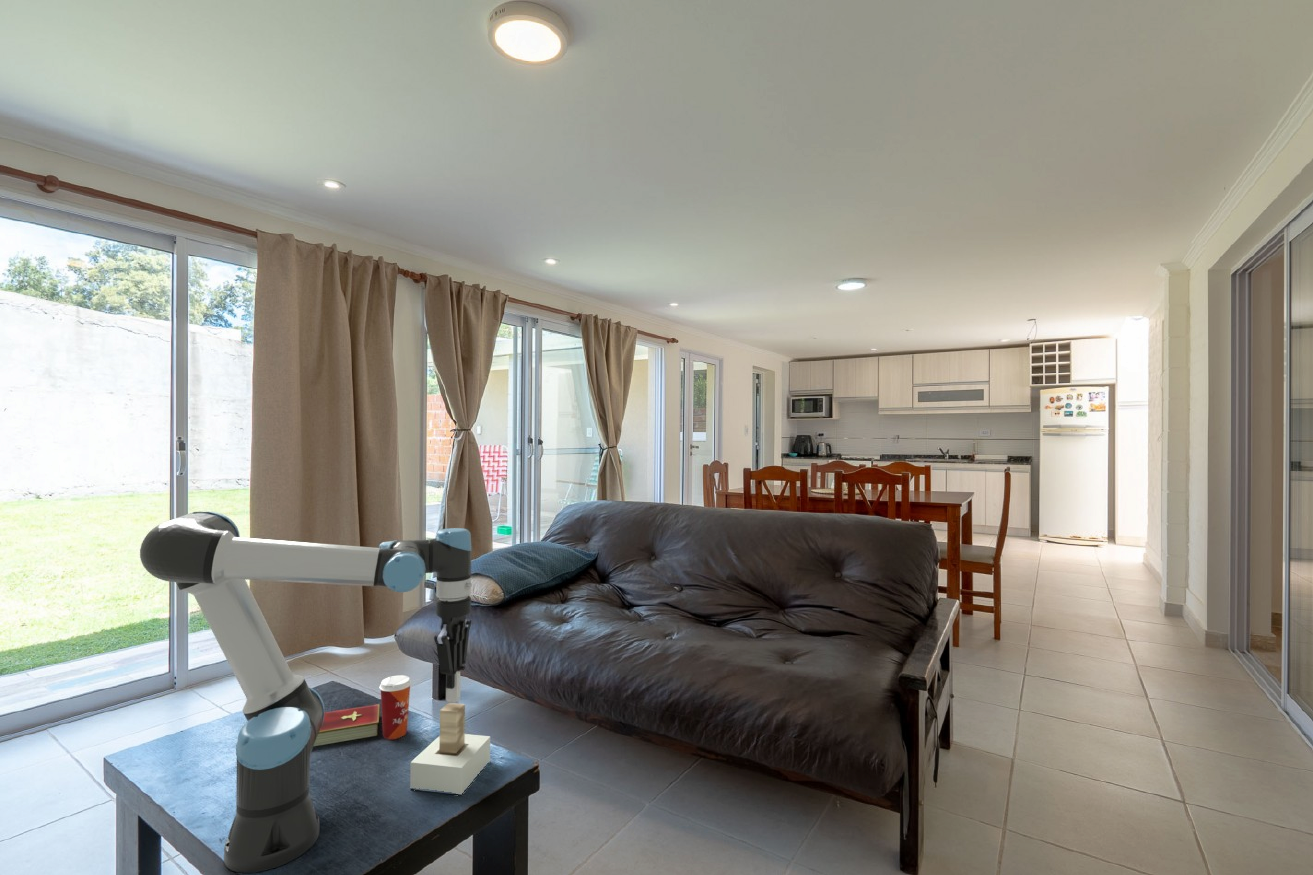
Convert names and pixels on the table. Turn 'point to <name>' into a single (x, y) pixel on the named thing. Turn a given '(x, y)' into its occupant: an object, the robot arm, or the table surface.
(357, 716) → the hardcover book
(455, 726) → the maple peg
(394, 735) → the paper cup
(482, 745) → the socket block
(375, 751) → the table surface
